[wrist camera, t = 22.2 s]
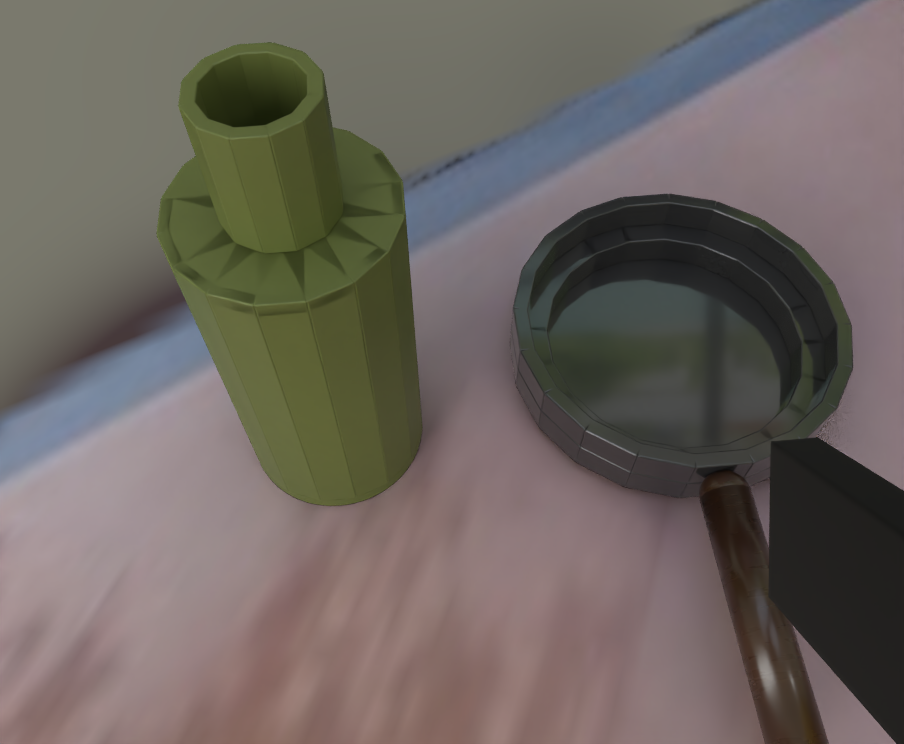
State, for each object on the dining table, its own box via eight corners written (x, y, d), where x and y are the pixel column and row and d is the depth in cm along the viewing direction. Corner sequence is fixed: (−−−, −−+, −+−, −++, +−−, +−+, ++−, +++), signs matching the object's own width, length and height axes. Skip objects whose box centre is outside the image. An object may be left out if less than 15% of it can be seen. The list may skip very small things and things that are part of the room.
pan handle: (735, 480, 31) (750, 459, 30) (826, 782, 26) (849, 775, 24) (688, 484, 31) (700, 463, 30) (768, 788, 26) (787, 781, 24)
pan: (769, 232, 40) (792, 183, 37) (868, 486, 33) (906, 449, 30) (493, 253, 39) (496, 205, 36) (534, 516, 32) (540, 481, 29)
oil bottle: (415, 353, 36) (387, -8, 22) (428, 498, 32) (403, 180, 18) (258, 366, 36) (123, 9, 21) (252, 513, 32) (85, 203, 18)
